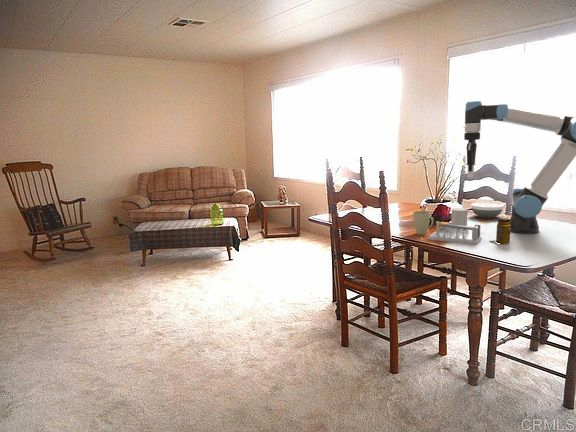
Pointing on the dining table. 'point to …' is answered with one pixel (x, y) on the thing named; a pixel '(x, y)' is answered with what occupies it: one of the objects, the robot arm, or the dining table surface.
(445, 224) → the grey bar
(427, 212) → the mug
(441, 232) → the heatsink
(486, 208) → the bowl
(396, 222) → the dining table surface
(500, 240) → the condiment
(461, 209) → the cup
